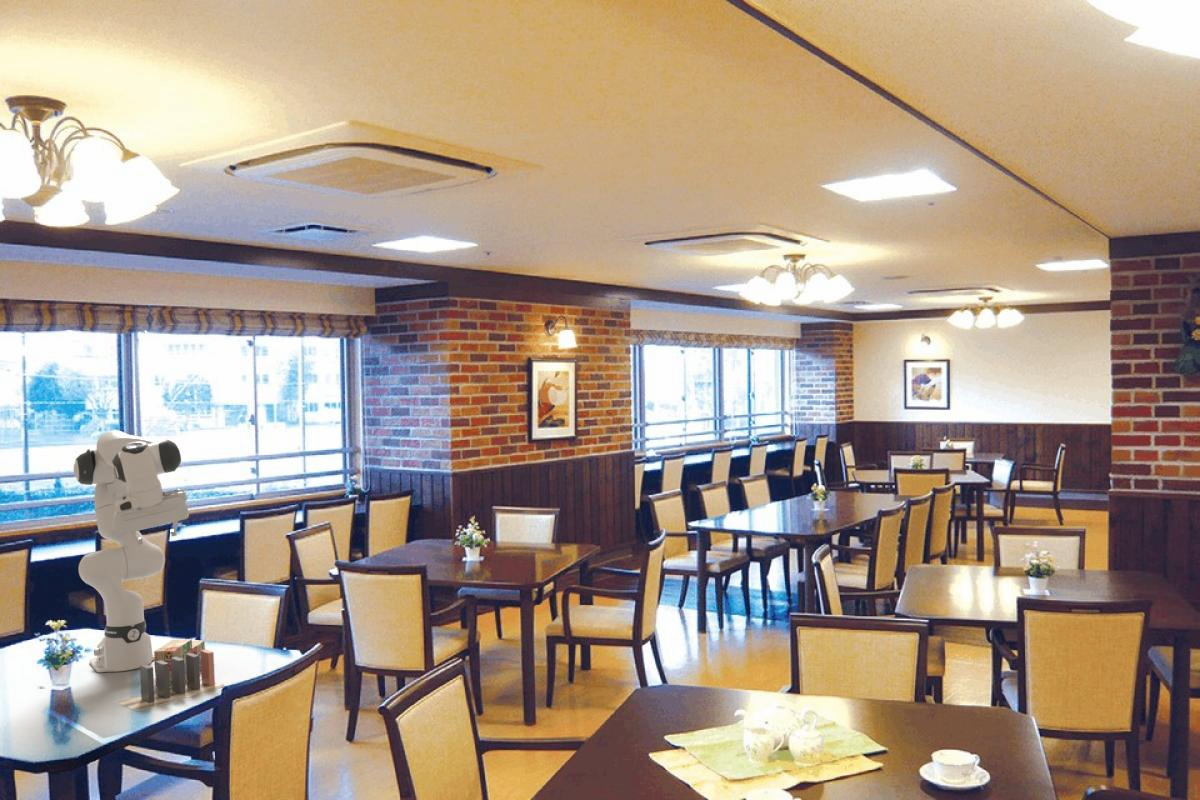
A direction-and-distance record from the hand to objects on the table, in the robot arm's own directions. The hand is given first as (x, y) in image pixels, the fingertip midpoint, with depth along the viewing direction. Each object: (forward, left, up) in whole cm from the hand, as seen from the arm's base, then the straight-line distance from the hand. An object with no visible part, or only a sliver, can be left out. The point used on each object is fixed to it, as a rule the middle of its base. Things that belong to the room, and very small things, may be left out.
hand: (157, 539), depth 287 cm
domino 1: (+8, -8, -45) cm, 46 cm away
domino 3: (+8, +1, -45) cm, 45 cm away
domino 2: (+8, -4, -45) cm, 46 cm away
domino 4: (+8, +5, -45) cm, 46 cm away
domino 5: (+8, +10, -45) cm, 46 cm away
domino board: (+8, -1, -46) cm, 47 cm away
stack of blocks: (-8, +9, -46) cm, 48 cm away
